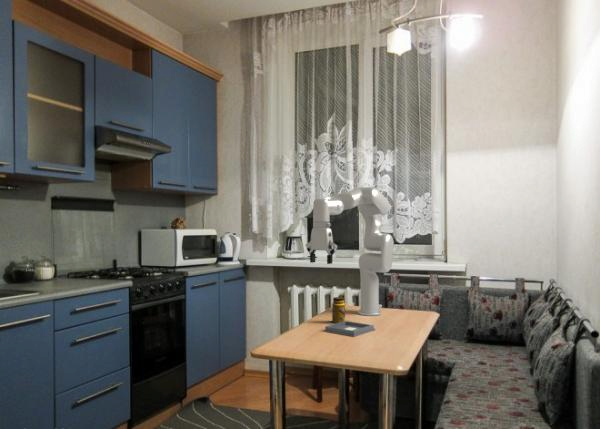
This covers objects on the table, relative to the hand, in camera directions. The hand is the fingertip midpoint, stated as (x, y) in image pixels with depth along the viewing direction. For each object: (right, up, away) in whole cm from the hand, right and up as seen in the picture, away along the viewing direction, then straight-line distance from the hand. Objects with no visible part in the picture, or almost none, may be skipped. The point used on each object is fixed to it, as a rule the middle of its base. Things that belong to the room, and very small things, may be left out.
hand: (321, 263), depth 227 cm
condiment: (+8, -30, +10) cm, 32 cm away
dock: (+12, -29, -7) cm, 33 cm away
